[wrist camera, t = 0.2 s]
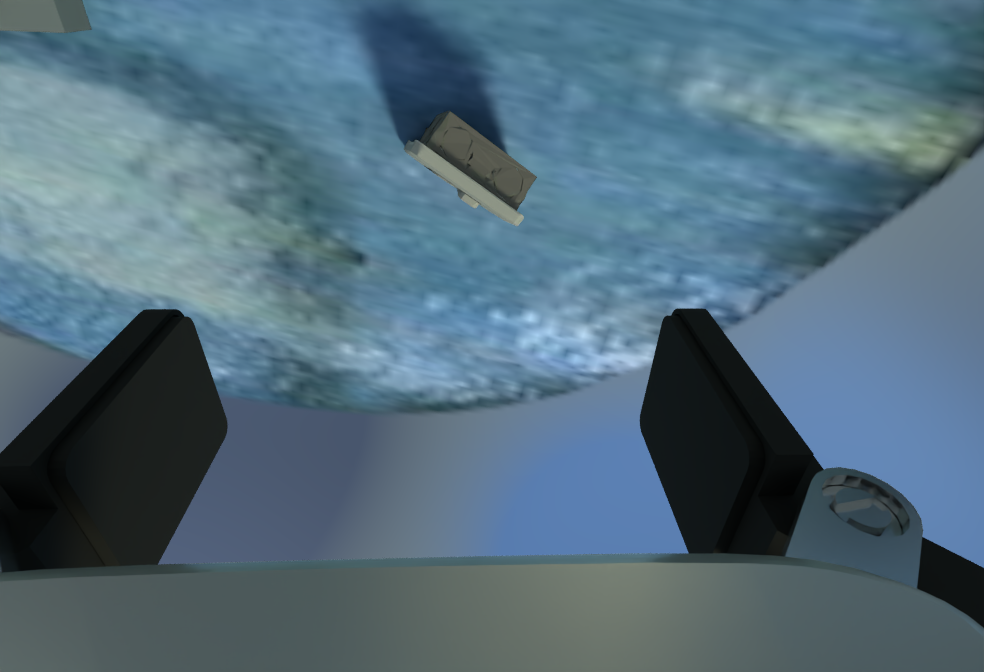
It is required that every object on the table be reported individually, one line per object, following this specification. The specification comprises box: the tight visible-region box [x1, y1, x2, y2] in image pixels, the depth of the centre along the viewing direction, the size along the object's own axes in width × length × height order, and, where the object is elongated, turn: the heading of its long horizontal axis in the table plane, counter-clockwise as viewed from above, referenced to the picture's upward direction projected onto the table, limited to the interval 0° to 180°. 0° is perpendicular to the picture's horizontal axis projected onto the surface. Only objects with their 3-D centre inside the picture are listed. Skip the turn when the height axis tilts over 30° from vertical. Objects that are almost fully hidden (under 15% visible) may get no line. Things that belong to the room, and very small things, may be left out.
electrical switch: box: [404, 111, 537, 226], centre depth 40 cm, size 9×5×9 cm, turn 53°
